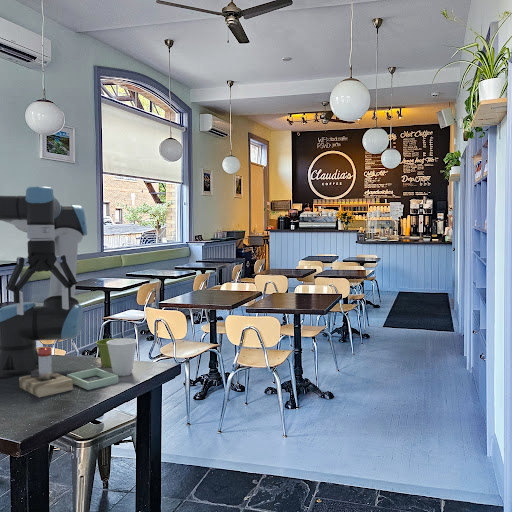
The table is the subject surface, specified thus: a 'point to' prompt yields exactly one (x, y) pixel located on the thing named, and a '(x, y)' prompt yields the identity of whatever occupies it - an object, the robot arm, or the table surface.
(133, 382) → the table surface
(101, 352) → the plant pot
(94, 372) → the tray
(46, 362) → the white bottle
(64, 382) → the wooden block with hole
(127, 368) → the cup
